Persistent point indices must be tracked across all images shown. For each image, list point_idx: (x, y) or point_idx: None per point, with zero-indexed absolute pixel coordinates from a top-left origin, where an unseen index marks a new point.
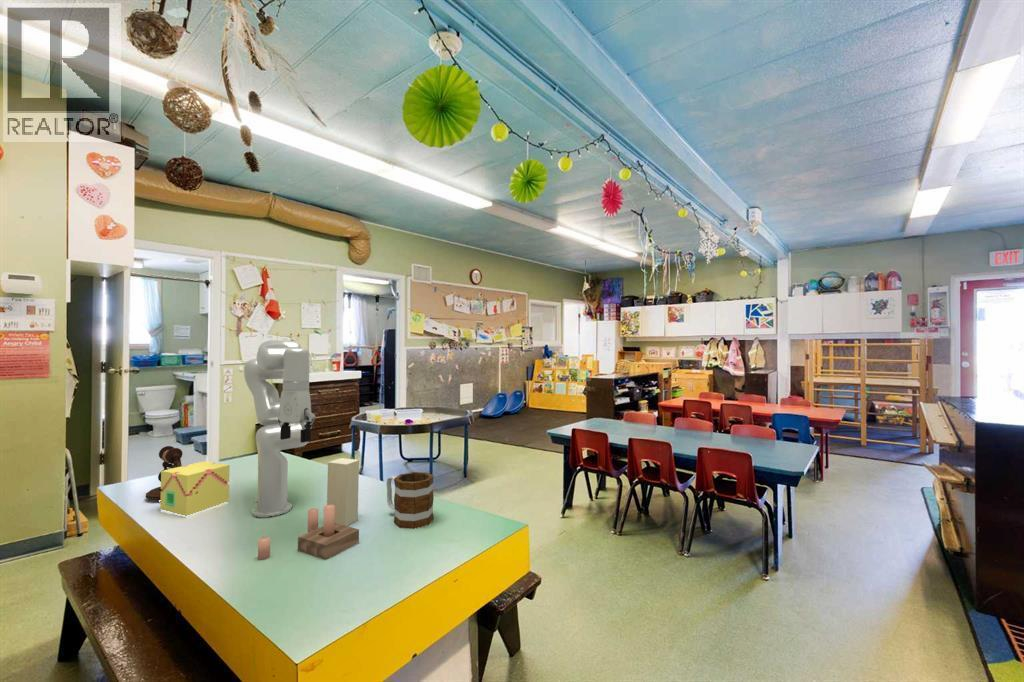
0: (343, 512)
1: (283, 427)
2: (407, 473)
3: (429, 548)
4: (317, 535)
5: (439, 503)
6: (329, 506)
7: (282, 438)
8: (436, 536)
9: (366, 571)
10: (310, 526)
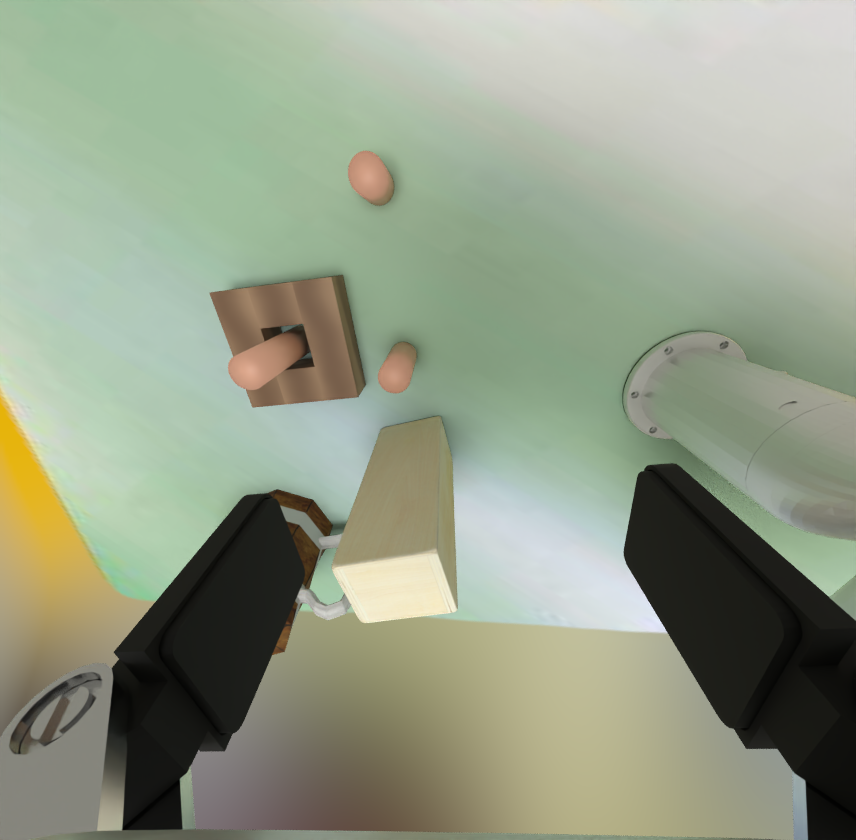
0: (378, 446)
1: (787, 648)
2: (283, 637)
3: (133, 455)
4: (296, 318)
5: (331, 603)
6: (245, 371)
7: (644, 477)
8: (179, 498)
9: (107, 311)
10: (392, 351)
